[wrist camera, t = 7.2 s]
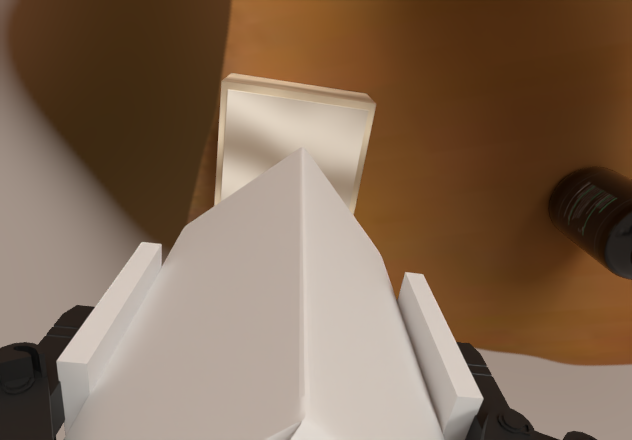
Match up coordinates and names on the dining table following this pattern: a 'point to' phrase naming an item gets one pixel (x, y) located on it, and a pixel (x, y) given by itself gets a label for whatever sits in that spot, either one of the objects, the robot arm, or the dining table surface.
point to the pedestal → (291, 132)
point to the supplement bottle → (597, 216)
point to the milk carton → (266, 330)
